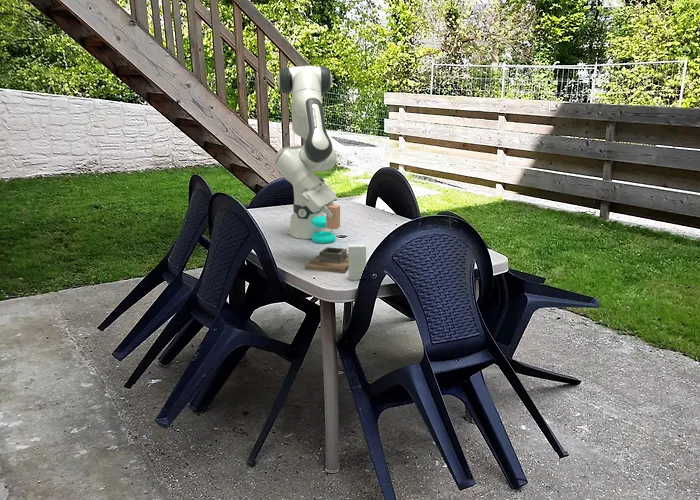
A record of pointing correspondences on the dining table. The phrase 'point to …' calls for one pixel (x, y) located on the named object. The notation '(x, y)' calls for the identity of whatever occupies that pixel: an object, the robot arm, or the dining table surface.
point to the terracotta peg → (335, 220)
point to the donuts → (322, 236)
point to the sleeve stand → (330, 260)
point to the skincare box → (356, 260)
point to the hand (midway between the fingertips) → (334, 215)
